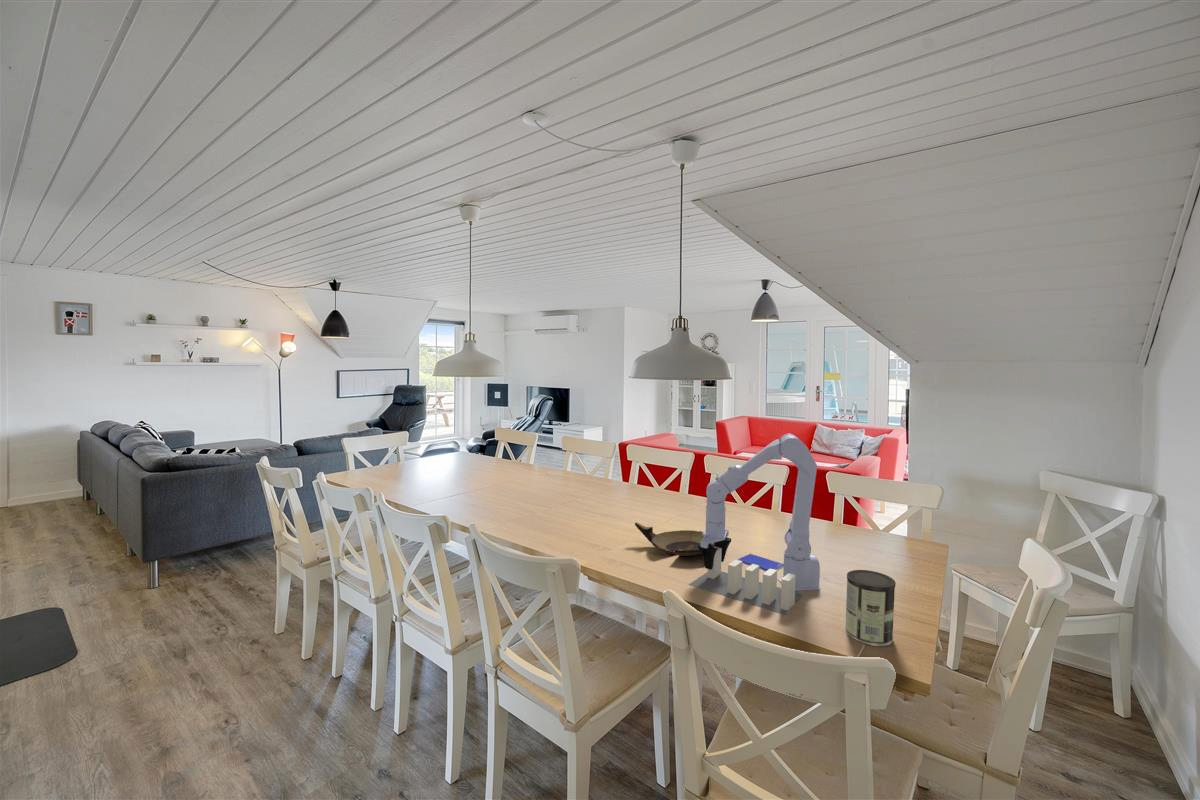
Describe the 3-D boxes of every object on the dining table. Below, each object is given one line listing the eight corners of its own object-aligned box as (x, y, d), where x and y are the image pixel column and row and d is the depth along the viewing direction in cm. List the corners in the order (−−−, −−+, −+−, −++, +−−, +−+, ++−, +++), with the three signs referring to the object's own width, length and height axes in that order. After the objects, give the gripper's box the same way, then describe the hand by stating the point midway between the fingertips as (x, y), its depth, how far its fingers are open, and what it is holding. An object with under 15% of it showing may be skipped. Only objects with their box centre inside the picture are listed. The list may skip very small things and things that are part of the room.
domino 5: (794, 604, 138) (795, 575, 138) (788, 610, 134) (789, 581, 134) (787, 601, 139) (788, 573, 139) (780, 608, 136) (781, 579, 135)
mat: (803, 595, 144) (803, 594, 144) (784, 616, 132) (784, 614, 132) (712, 569, 162) (712, 568, 162) (688, 585, 150) (688, 584, 150)
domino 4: (776, 598, 141) (777, 570, 141) (769, 605, 137) (770, 576, 137) (769, 596, 143) (769, 568, 142) (762, 602, 139) (762, 574, 138)
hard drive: (785, 563, 164) (751, 553, 174) (771, 570, 159) (737, 559, 168) (785, 568, 164) (751, 557, 174) (771, 575, 159) (737, 563, 168)
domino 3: (758, 593, 144) (759, 565, 144) (751, 599, 141) (752, 571, 140) (751, 591, 146) (752, 563, 145) (744, 597, 142) (745, 569, 141)
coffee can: (874, 623, 129) (877, 568, 128) (903, 645, 119) (906, 586, 118) (835, 625, 128) (838, 569, 127) (860, 648, 118) (863, 588, 117)
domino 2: (741, 588, 148) (742, 561, 147) (734, 594, 144) (734, 566, 143) (735, 586, 149) (735, 559, 148) (727, 592, 145) (728, 564, 144)
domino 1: (721, 573, 158) (721, 548, 157) (713, 579, 154) (714, 552, 153) (715, 572, 159) (715, 546, 158) (707, 577, 155) (708, 551, 155)
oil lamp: (692, 572, 160) (692, 548, 160) (625, 546, 183) (625, 524, 182) (734, 555, 175) (735, 532, 174) (667, 532, 197) (668, 513, 197)
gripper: (714, 512, 163) (713, 554, 164) (691, 523, 152) (690, 568, 153) (735, 517, 159) (734, 560, 160) (713, 528, 148) (712, 574, 149)
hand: (714, 564), depth 156 cm, fingers open, 7 cm apart
